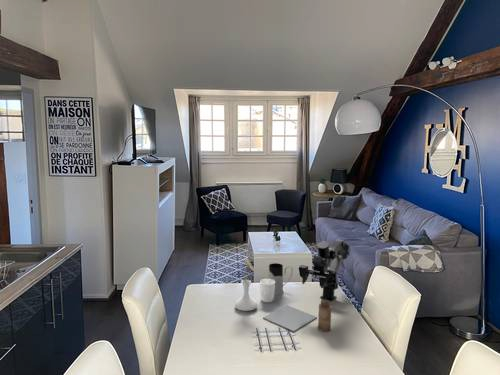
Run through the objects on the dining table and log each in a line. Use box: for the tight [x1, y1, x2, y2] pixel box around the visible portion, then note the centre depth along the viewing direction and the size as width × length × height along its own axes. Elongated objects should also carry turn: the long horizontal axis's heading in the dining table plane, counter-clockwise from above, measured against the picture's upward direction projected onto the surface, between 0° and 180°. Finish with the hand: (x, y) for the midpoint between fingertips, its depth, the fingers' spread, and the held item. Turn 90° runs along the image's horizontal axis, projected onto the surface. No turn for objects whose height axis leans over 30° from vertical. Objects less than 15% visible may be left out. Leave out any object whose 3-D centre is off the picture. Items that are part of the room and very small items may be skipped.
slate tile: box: [262, 304, 318, 333], centre depth 181 cm, size 18×18×1 cm
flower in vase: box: [234, 257, 258, 312], centre depth 190 cm, size 13×11×25 cm
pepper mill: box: [317, 299, 332, 333], centre depth 170 cm, size 5×5×13 cm
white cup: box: [259, 278, 275, 303], centre depth 200 cm, size 8×8×10 cm
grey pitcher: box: [268, 262, 293, 296], centre depth 210 cm, size 9×14×15 cm, turn 107°
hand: (311, 285), depth 179 cm, fingers open, 9 cm apart
